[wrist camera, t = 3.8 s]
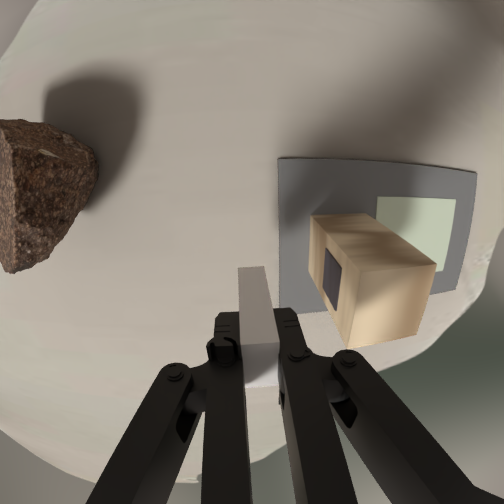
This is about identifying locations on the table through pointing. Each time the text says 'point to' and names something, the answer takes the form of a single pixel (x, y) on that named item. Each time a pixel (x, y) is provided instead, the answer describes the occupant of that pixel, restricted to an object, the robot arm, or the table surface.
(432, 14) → the table surface
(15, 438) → the table surface
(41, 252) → the rock
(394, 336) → the beech block
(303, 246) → the rubber mat
